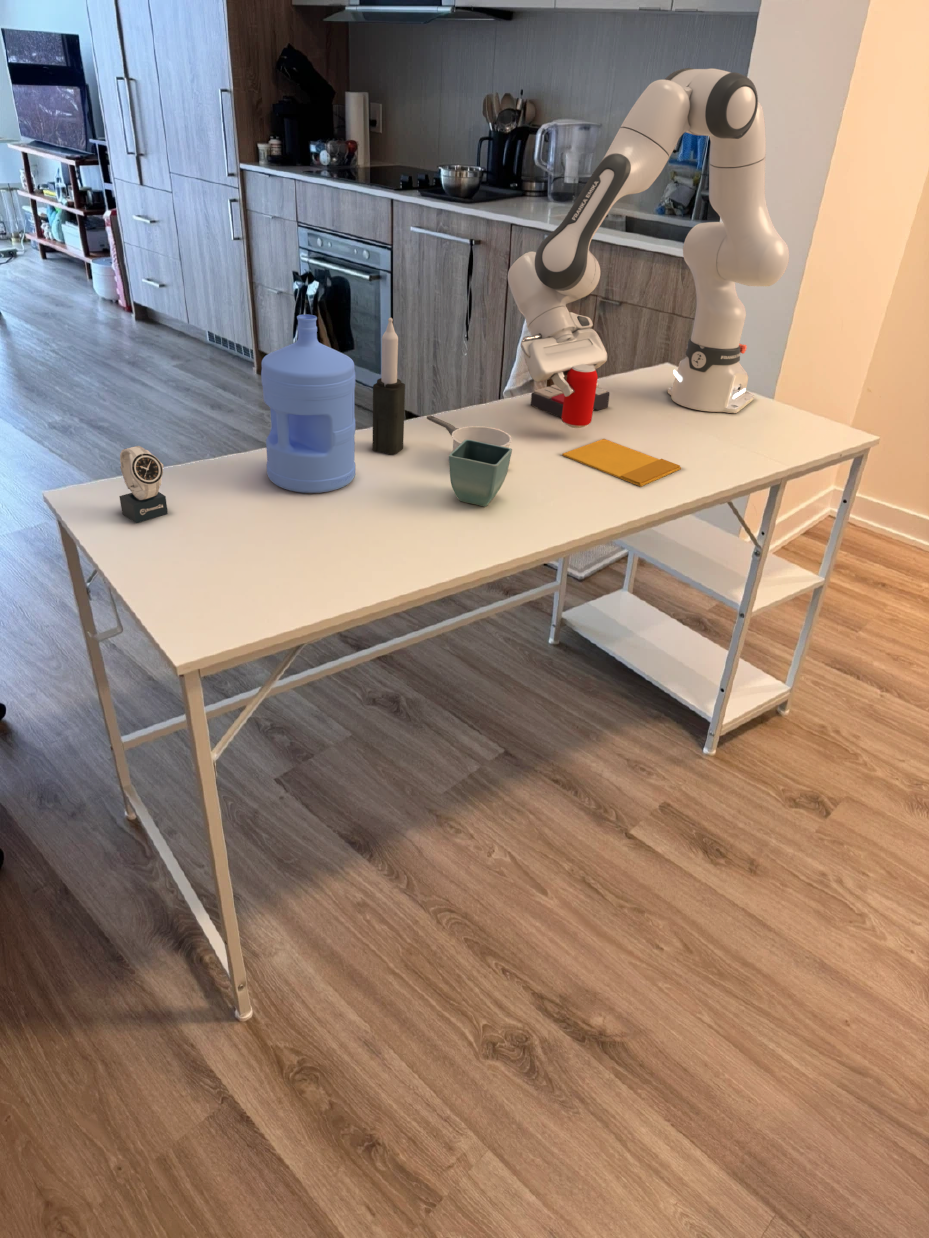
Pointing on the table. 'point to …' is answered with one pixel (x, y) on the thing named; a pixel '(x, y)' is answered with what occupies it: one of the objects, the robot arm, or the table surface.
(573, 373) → the beverage can
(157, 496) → the watch
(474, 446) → the flower pot
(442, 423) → the saucepan
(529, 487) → the table surface
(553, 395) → the calculator
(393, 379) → the candle
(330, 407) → the water jug
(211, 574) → the table surface
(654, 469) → the cloth
